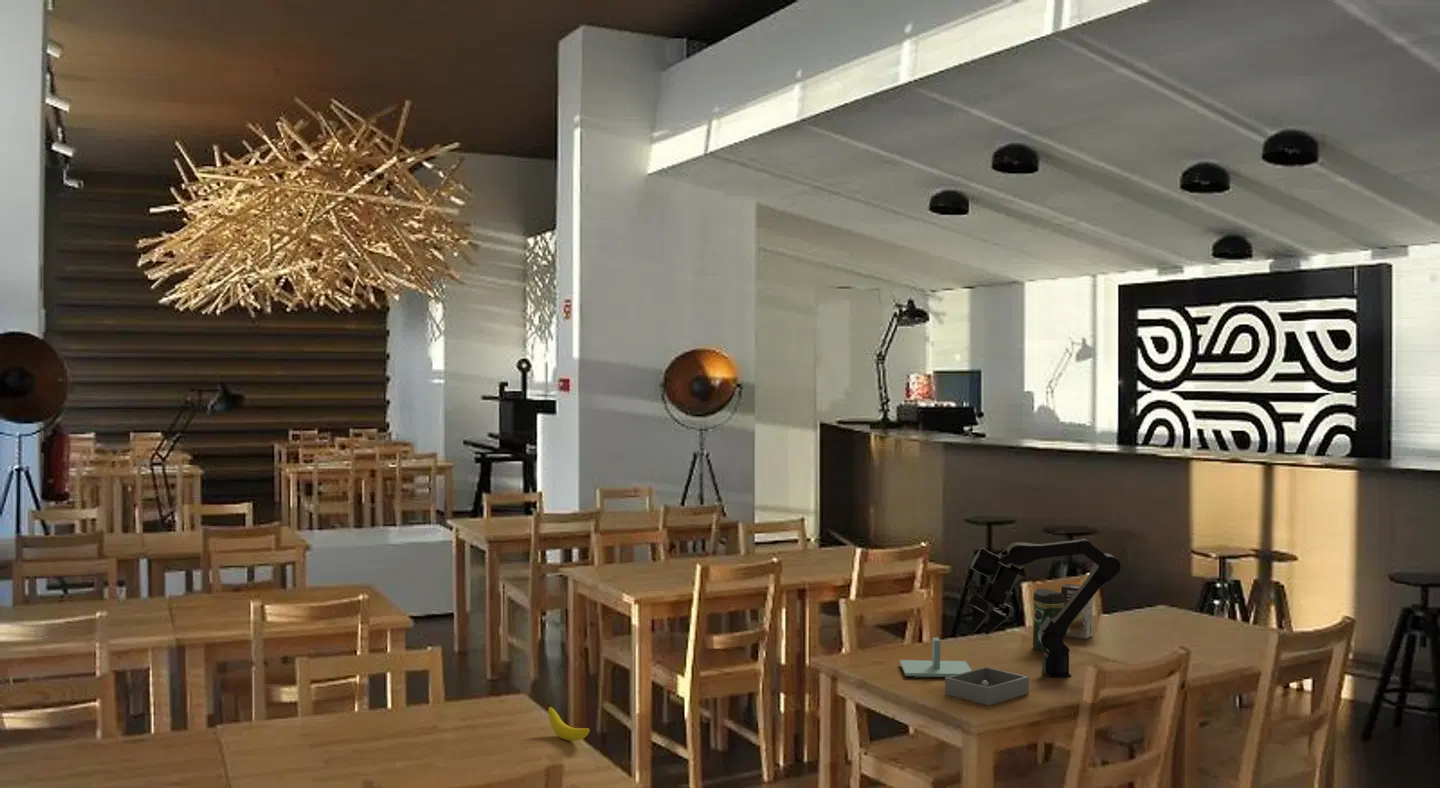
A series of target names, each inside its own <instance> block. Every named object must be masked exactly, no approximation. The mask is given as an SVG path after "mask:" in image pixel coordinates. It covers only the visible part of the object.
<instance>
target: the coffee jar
mask: <svg viewBox="0 0 1440 788" xmlns="http://www.w3.org/2000/svg"><path fill="white" fill-rule="evenodd" d="M1032 600H1033V601H1032V602H1033V609H1034V610H1033V611H1034V613H1033V614H1034V615H1033V616H1034V617H1033V633H1032V647H1033V648H1034V649H1037V650H1039V651H1041V650H1042V652H1046V651H1048V650H1047V649H1046V648H1045V647H1044V646H1043V645H1042V643H1041V642H1040V640H1039V638H1038V631H1039V629H1040V628H1039V626H1040V625H1042V624H1043V622H1044V621H1045V619H1046V617H1047V616H1048V617H1049V618H1050V619H1052V618H1054V617H1056V616H1057V615H1058V614H1059V613H1060V611H1061V610H1062V609H1063V608H1064V595H1063V594H1061V592H1058V591H1055V590H1052V589H1049V588H1038V589H1036V590H1035V591H1034V593H1033V598H1032ZM1064 639H1065V638H1064ZM1064 639H1063V642H1064V643H1065V641H1064Z"/></svg>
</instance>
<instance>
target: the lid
mask: <svg viewBox="0 0 1440 788" xmlns="http://www.w3.org/2000/svg"><path fill="white" fill-rule="evenodd" d="M931 659H932V660H919V659H918V660H916V659H912V660H911V659H910V660H909V659H906V660H905V659H899V664H900V666H901V668H902V670H903V674H904V676H905V677H911V676H914V677H913V678H930V677H950V676H954V675H958V674H961V673H965V672H969V671H973V670H972V669H971V667H970V666H969V664H968V662H967V661H966V660H941V639H940V637H932V657H931Z"/></svg>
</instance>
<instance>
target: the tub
mask: <svg viewBox="0 0 1440 788" xmlns="http://www.w3.org/2000/svg"><path fill="white" fill-rule="evenodd" d="M1029 688H1030V677H1029V676H1027V675H1022V674H1019V673H1014V672H1009V671H1006V670H1001V669H996V668H991V667H988V666H987V667H986V666H985V667H981V668H977V669H973V670H972V671H969V672H965V673H961V674H958V675H954V676H950V677H946V678H944V695H945V694H947V695H946V696H949V695H951V696H950V697H953V696H955V697H954V698H957V697H958V698H957V699H961V698H963V699H962V700H964V699H967V700H966V701H968V700H971V701H970V702H972V701H974V702H973V703H976V702H977V704H980V703H981V704H980V705H984V704H985V706H991V705H995V704H998V703H1002V702H1005V701H1009V700H1012V699H1014V698H1015V697H1016V698H1018V696H1019V697H1022V696H1025V695H1024V694H1026V695H1029V694H1028V693H1030V689H1029ZM1021 695H1022V696H1021Z"/></svg>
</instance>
